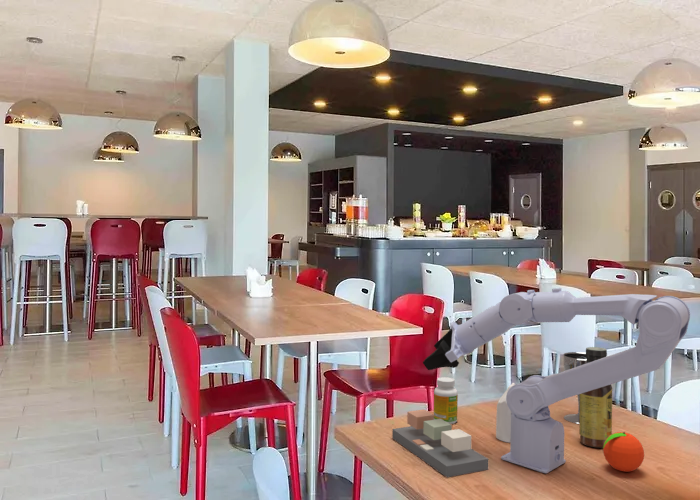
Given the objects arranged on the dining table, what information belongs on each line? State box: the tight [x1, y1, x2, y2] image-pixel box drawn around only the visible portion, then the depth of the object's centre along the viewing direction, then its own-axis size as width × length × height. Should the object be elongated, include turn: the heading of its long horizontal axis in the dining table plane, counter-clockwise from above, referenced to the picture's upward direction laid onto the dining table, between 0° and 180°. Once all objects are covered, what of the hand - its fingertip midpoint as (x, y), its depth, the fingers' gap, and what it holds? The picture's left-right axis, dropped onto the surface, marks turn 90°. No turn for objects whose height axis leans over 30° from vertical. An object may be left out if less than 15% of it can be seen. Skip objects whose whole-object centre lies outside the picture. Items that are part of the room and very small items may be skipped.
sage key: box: [423, 419, 453, 440], centre depth 116 cm, size 4×4×2 cm
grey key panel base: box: [391, 425, 489, 478], centre depth 117 cm, size 21×9×2 cm, turn 23°
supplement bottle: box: [433, 376, 459, 425], centre depth 136 cm, size 5×5×10 cm
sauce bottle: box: [578, 346, 613, 449], centre depth 122 cm, size 7×6×20 cm
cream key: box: [441, 428, 472, 452], centre depth 110 cm, size 4×4×2 cm
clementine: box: [602, 431, 645, 473], centre depth 109 cm, size 8×7×7 cm
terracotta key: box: [406, 409, 434, 429], centre depth 122 cm, size 4×4×2 cm
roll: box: [495, 382, 516, 444], centre depth 125 cm, size 6×12×6 cm
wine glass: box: [562, 351, 587, 425], centre depth 138 cm, size 8×8×15 cm
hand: (431, 357), depth 126 cm, fingers open, 7 cm apart
